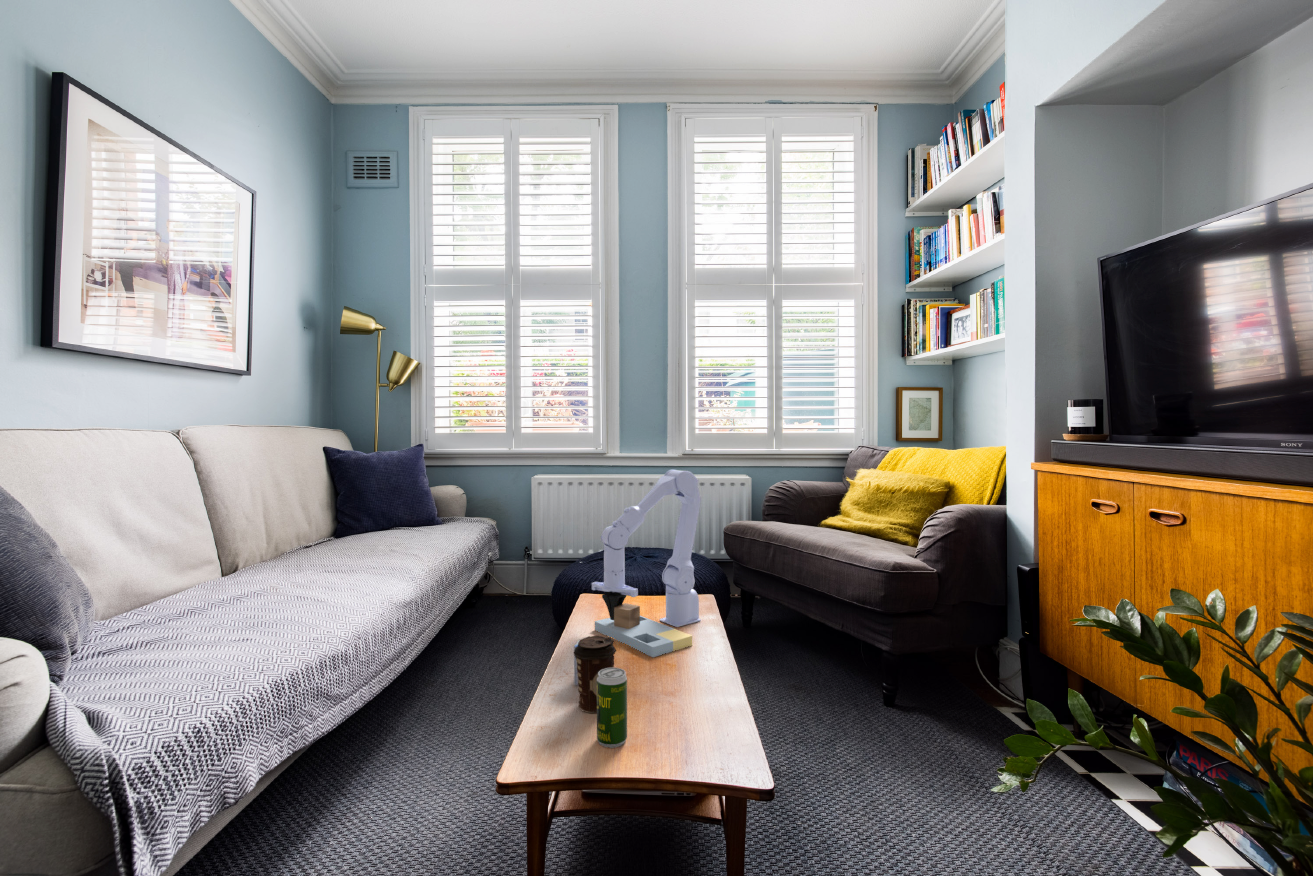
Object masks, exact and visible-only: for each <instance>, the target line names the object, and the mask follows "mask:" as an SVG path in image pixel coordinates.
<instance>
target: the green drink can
mask: <svg viewBox="0 0 1313 876" xmlns="http://www.w3.org/2000/svg"><path fill="white" fill-rule="evenodd" d="M596 739H597V742H598V744H599V745H600V746H601V745H602V746H601V747H603V746H604V748H606V747H609V748H608V749H614V747H615V748H619V747H621V746H623V745H624V744H625V743H626V740H627V739H628V677H627V673H626V670H625V669H623V668H621V667H614V668H605V669H602V670H600V671H599V672H598V677H597V712H596Z"/></svg>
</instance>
